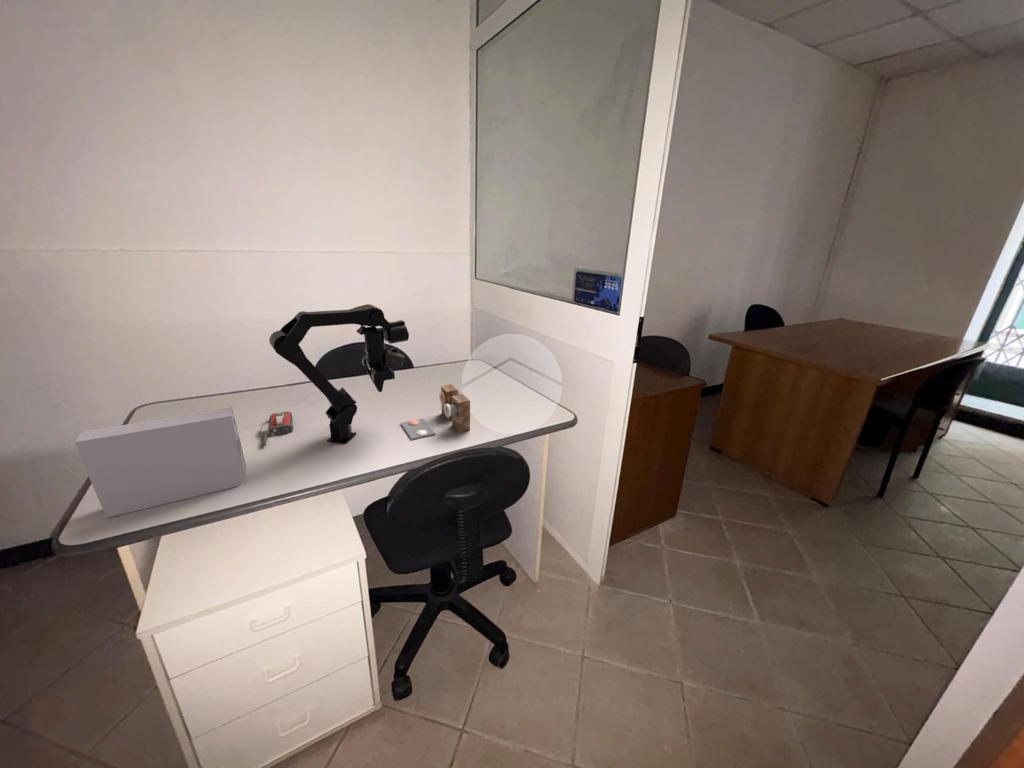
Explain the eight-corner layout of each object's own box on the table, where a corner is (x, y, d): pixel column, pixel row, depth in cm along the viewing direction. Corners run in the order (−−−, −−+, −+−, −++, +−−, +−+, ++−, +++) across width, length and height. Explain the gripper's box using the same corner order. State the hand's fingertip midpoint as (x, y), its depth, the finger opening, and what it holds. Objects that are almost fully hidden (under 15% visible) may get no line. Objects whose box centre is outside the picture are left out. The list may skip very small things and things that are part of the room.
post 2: (459, 432, 133) (458, 402, 129) (452, 424, 138) (451, 396, 134) (470, 429, 135) (470, 400, 131) (462, 422, 140) (462, 394, 136)
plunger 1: (444, 406, 139) (443, 394, 138) (439, 401, 143) (439, 390, 141) (461, 402, 143) (461, 391, 141) (456, 398, 146) (456, 387, 145)
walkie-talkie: (264, 421, 135) (260, 449, 119) (261, 410, 134) (257, 437, 117) (293, 417, 139) (293, 444, 123) (291, 405, 138) (291, 431, 121)
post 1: (447, 420, 141) (447, 391, 137) (441, 413, 146) (440, 385, 142) (458, 417, 143) (458, 389, 139) (451, 411, 148) (451, 384, 144)
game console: (112, 504, 94) (82, 430, 87) (248, 472, 108) (232, 406, 100) (106, 518, 90) (73, 442, 82) (248, 484, 103) (231, 415, 96)
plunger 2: (449, 419, 131) (448, 407, 129) (444, 413, 134) (443, 402, 132) (467, 415, 134) (467, 403, 132) (462, 410, 137) (462, 398, 136)
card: (411, 440, 127) (411, 438, 127) (400, 424, 137) (400, 422, 137) (435, 434, 131) (435, 432, 131) (423, 419, 141) (423, 417, 140)
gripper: (409, 350, 120) (413, 397, 126) (393, 335, 135) (396, 378, 141) (371, 355, 115) (377, 404, 121) (358, 339, 130) (364, 383, 136)
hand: (380, 391), depth 130 cm, fingers closed
